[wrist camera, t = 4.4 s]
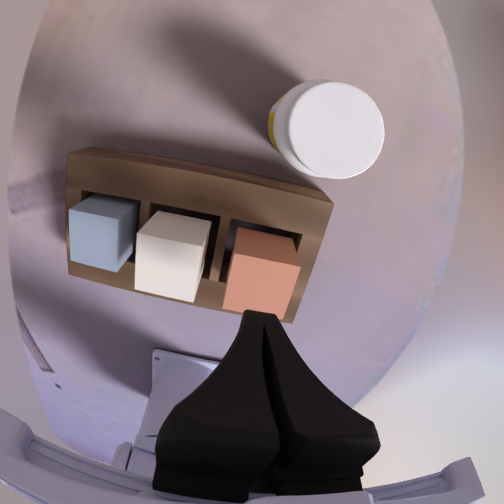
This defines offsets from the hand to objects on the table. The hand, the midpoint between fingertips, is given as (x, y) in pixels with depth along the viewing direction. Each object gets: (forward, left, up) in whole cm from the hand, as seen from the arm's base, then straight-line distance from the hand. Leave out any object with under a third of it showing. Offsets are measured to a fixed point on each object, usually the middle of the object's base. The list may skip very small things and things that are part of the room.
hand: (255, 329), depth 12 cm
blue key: (0, +10, -8) cm, 13 cm away
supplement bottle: (+8, -1, -10) cm, 13 cm away
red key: (0, 0, -7) cm, 7 cm away
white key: (0, +5, -7) cm, 9 cm away
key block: (0, +5, -10) cm, 11 cm away
